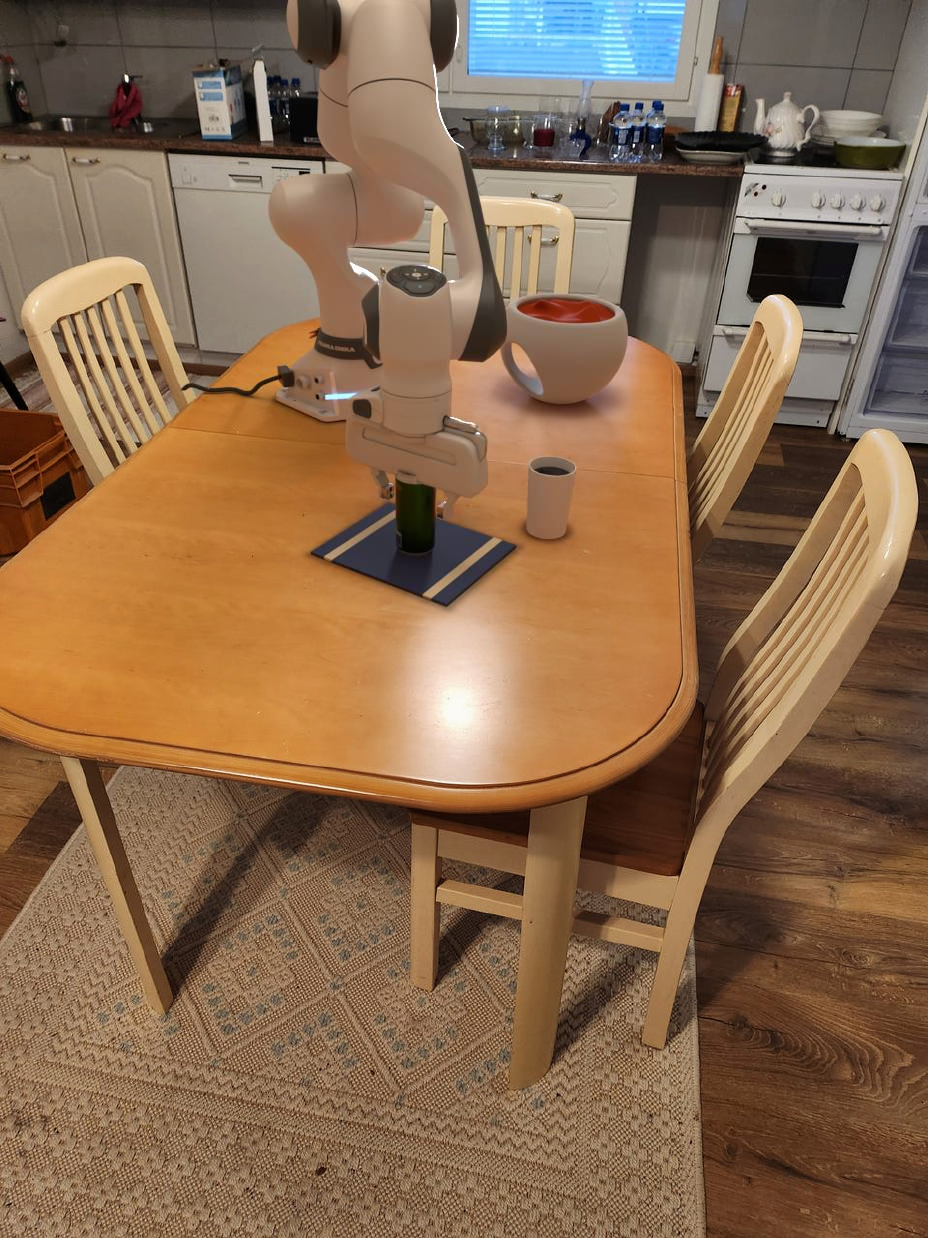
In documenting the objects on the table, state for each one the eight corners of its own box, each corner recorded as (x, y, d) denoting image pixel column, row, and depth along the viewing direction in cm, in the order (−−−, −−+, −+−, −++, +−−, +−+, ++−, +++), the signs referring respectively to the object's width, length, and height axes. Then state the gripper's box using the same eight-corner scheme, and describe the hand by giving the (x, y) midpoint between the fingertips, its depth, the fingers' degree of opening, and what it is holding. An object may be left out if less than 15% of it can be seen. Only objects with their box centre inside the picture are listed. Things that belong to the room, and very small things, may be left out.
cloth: (310, 554, 117) (310, 551, 117) (388, 504, 130) (388, 501, 130) (446, 606, 108) (446, 603, 108) (516, 547, 121) (516, 544, 121)
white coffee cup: (538, 544, 122) (544, 479, 116) (514, 523, 127) (519, 460, 121) (577, 535, 124) (586, 471, 119) (553, 514, 129) (559, 452, 124)
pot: (616, 425, 158) (631, 327, 148) (487, 412, 161) (492, 314, 151) (620, 381, 178) (633, 291, 168) (504, 370, 181) (510, 281, 171)
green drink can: (408, 562, 116) (408, 480, 109) (388, 544, 120) (387, 464, 113) (442, 551, 118) (444, 471, 112) (422, 534, 122) (422, 455, 115)
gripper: (500, 419, 105) (494, 520, 113) (366, 383, 114) (369, 479, 122) (474, 436, 101) (469, 539, 109) (335, 397, 109) (340, 495, 117)
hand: (415, 507), depth 115 cm, fingers open, 8 cm apart
